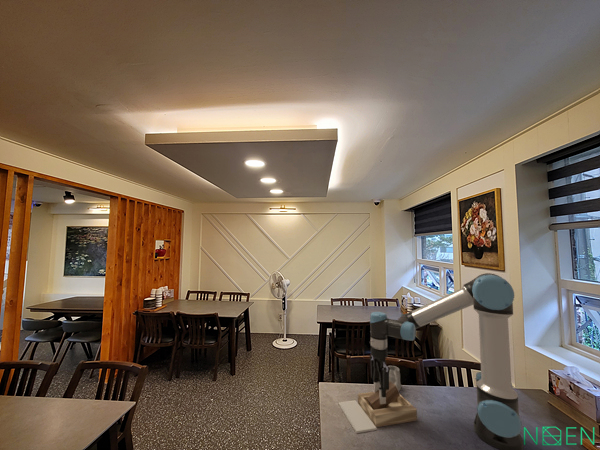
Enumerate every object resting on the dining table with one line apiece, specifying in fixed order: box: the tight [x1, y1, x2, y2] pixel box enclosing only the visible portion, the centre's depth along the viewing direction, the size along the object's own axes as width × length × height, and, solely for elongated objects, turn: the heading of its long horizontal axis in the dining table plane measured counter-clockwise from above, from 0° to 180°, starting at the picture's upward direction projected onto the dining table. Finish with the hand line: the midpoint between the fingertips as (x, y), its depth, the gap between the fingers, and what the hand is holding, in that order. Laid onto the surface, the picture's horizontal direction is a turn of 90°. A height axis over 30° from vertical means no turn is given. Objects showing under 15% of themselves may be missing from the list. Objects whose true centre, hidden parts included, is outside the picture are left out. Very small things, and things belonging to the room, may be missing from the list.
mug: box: [387, 365, 402, 392], centre depth 128 cm, size 8×12×12 cm, turn 175°
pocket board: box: [357, 391, 418, 428], centre depth 110 cm, size 16×20×4 cm
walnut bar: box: [367, 381, 401, 410], centre depth 110 cm, size 4×14×5 cm, turn 103°
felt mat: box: [338, 399, 378, 434], centre depth 106 cm, size 19×9×1 cm, turn 13°
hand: (379, 400), depth 110 cm, fingers closed on walnut bar, 4 cm apart
